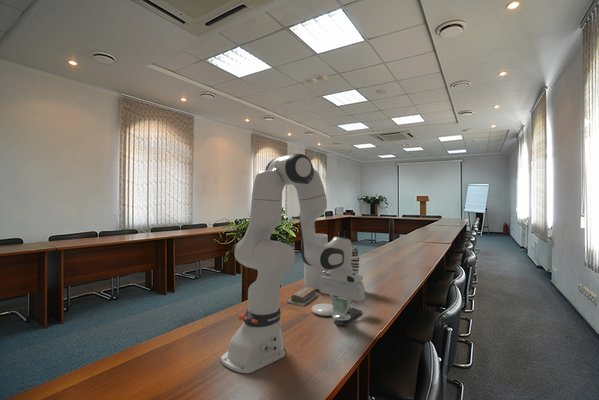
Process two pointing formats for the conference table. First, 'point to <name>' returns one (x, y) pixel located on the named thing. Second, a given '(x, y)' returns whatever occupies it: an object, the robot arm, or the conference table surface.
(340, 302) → the block
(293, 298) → the packaged product
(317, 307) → the dish
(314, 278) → the vase
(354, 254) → the decorative candle
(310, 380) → the conference table surface
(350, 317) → the balance
